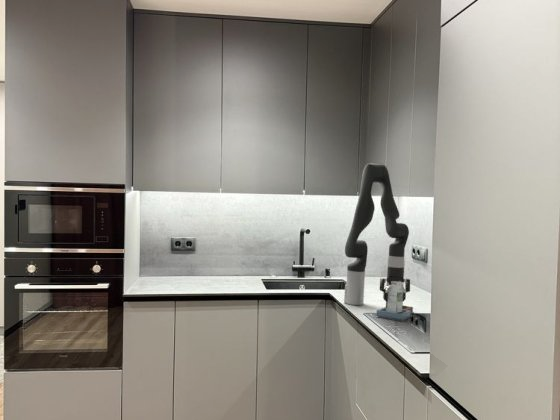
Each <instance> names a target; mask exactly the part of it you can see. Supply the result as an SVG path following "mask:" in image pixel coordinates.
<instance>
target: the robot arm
mask: <svg viewBox="0 0 560 420" xmlns="http://www.w3.org/2000/svg"><path fill="white" fill-rule="evenodd" d="M374 183H379V185H380V188H381V195H380V209H381V210H382V214H383V216H384V223H385V225H384V226H385V232H386V234H387V235H388V237H389V238H392V239H395V240H394V242H393V243H390V244H389V246H388V259H387V271H386V272H387V276H386V278H383V277H380V280H379V291H380V292H382V293H383V296H382V297H383V301H385V302H386V301H388V293H387V292H388V291H389V290H390V289H391V288H392V284H393V282H396V281H398V282H404V284H405V287H404V284H403V285H402V290H403V302H405V300H406V298H407V297H406V295H407V293H409V292H410V291H411V279H410V278H407V277H406V278H405V277H404V276H405V249H406V245H407V243H408V238H409V235H410V231H409V227H408V225H407V224H406V223H403V222H401V223H400V222H397V219H399V218H400V216H401V215H400V211H399V208H398V206H397V204H396V200H395V198H394V193H393V189H392V183H391V179H390V173H389V171H388V168H387V165H385V164H383V163H367V164H366V165H365V166H364V168H363V171H362V175H361V182H360V189H359V194H358V199H357V203H356V206H355V210H354V215H353V220H352V224H351V227H350V230H349V233H348V237H347V239H346V242H345V246H344V253H345V256H346V257H347V258H349V259H351V258H353V259H355V260H354V262H352V263H349V264H347V270H346V284H345V285H344V299H343V303H344V304H347V305H353V306H362V305H364V300H365V299H364V298H365V277H366V267H367V263H368V261H367V260H368V259H367V258H368V251H369V250H368V249H369V248H368V243H367V242H366V240H361V239H359V237H360V235H361V233H362V232H363V231H364V230H365V229H366V228H367V227H368V226H369V225H370V223H371V222H372V220H373V217H374V213H375V203H374V199H373V197H372V189H373V184H374ZM391 281H393V282H392V283H391ZM387 282H388V283H389V286H387ZM385 284H386V285H385ZM401 284H402V283H401ZM386 288H387V289H386Z"/></svg>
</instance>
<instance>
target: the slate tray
mask: <svg viewBox="0 0 560 420" xmlns="http://www.w3.org/2000/svg"><path fill="white" fill-rule="evenodd" d="M411 314H412V313H411V311H410V310H404V309H402V312H401V313H392V312H386V306H385V307H381V308H378V309H377V310H376V316H378V317H377V318H380V317H383V318H382V319H386V318H388V319H387V320H393V321H398V322H403V321H405V320H407V319H410V318H411V317H410V315H411ZM376 316H375V317H376ZM411 316H412V315H411ZM409 317H410V318H409Z"/></svg>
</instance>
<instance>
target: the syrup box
mask: <svg viewBox="0 0 560 420" xmlns="http://www.w3.org/2000/svg"><path fill="white" fill-rule="evenodd" d="M392 282H393V281H391V283H392ZM401 283H402V284H401ZM404 284H405V282H398V281H396V282H393V284H392V288H391V289H390V290H389V291H388V292H387V293H388V301H385V307H386V312H392V313H401V312H402V309H403V306H404V301H403V290H402V285H403V286H404ZM386 285H387V286H389V283H388V282H387V281H386ZM386 289H387V288H386Z"/></svg>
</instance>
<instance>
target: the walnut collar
mask: <svg viewBox="0 0 560 420" xmlns="http://www.w3.org/2000/svg"><path fill="white" fill-rule="evenodd" d="M403 309H404V310H410V311H411V314H412V313H414V307H413V306H410V305H409V306H408V305H403Z"/></svg>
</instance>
